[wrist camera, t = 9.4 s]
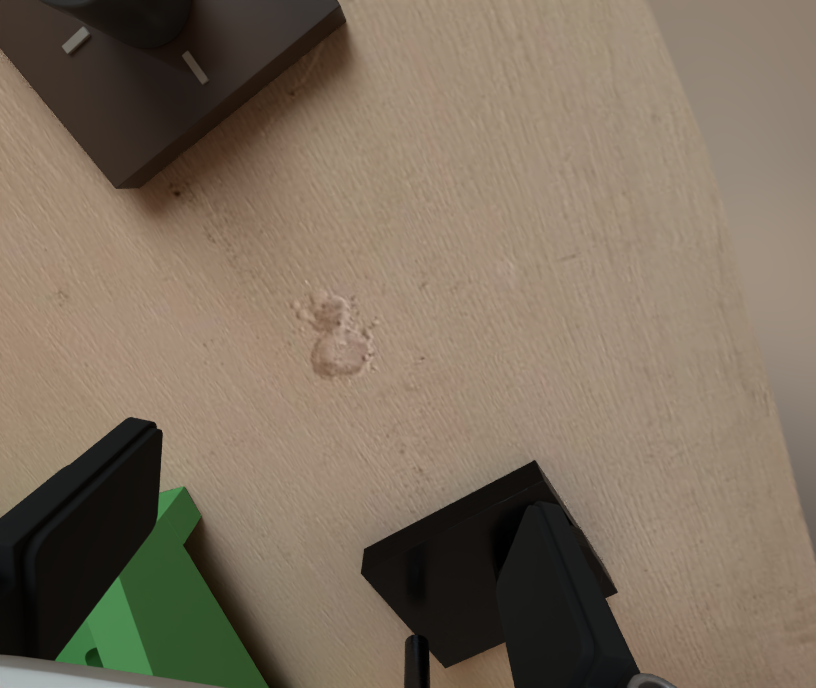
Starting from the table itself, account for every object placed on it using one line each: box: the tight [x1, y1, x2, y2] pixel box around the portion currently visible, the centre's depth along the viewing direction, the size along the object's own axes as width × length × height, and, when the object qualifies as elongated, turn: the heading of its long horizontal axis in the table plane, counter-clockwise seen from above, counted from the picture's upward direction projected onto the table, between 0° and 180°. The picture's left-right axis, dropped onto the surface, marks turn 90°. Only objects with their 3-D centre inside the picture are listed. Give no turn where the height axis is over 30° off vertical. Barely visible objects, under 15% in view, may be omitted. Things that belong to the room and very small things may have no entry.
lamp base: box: [361, 460, 618, 668], centre depth 31 cm, size 14×11×4 cm
